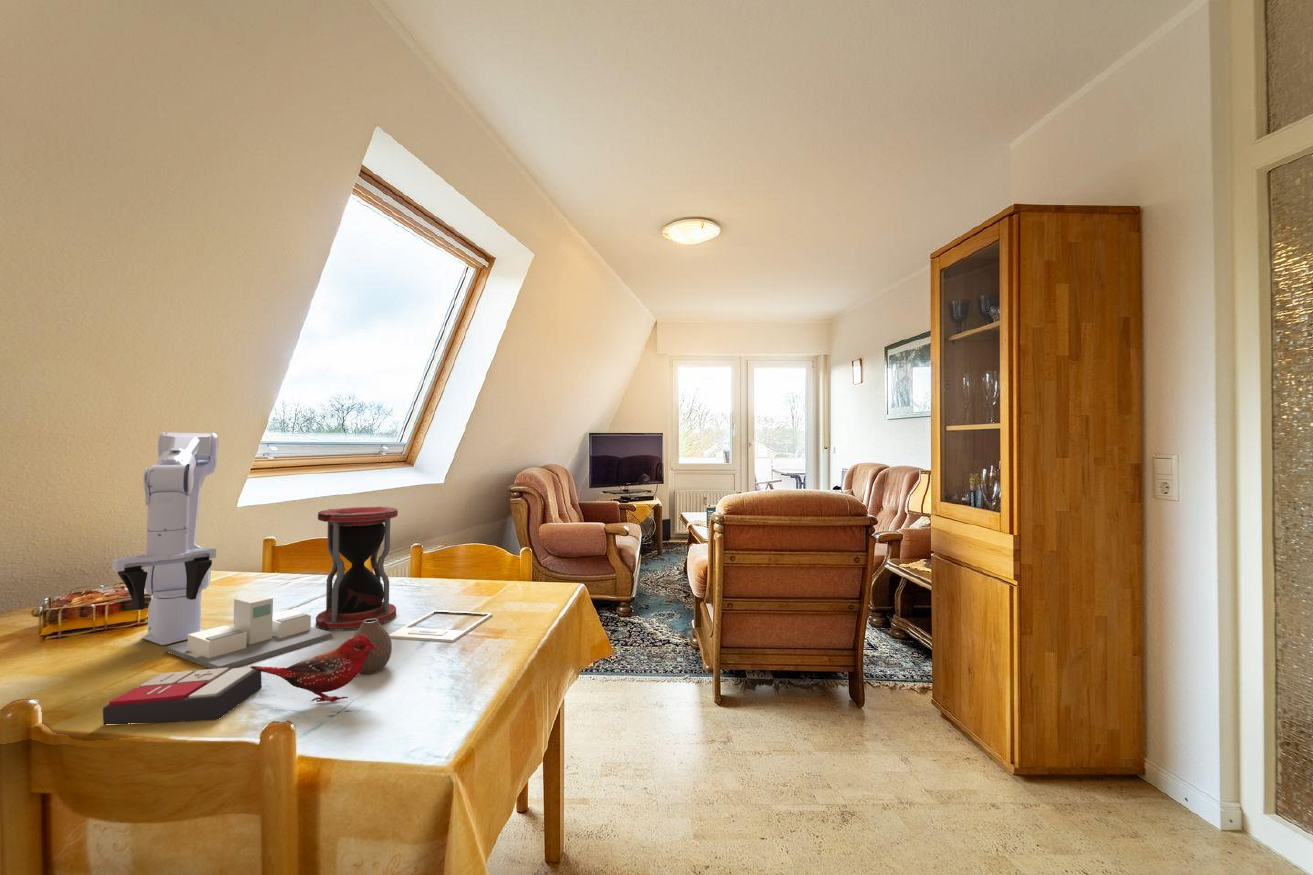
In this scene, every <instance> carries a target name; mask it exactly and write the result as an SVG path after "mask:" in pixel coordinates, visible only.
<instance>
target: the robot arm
mask: <svg viewBox="0 0 1313 875" xmlns="http://www.w3.org/2000/svg"><path fill="white" fill-rule="evenodd" d="M218 454H219V437H218V435H217V434H216V433H215V432H211V433H204V432H203V433H202V432H200V433H199V432H197V433H194V432H167V431H163V432H162V433H161V434H159V436H158V441H157V455H158V456H157V457H158V459H157V461H156V463H155V464H152V465H151V467H146V468H145V470H144V474H143V481H142V482H143V492H144V496H145V499H144V502H145V506H147V512H146V513H147V514H146V515H147V516H146V517H147V518H146V545H145V547H146V548H145V553H146V554H140V555H134V556H129V557H122V558H121V557H120V558H114V559H112V560H111V571H112V572H116V573H117V574H118V576H119V577H120V579H121V580H122V582H123V584H124V585H125V587H126V589H127V590H128V593H129V596H130V598H131V602H132V607H133V610H136V611H141V610H144V608H145V604H146V603H145V601H146V600H145V592H146V593H147V594H148V595H149V596H151V595H152V599H151V600H150V602H149V603H148V609H147V633H146V634H143V635H141V638H142V639H144V640H146V641H150V642H152V643H154V644H157V645H160V646H166V645H170V644H173V643H174V644H175V643H177V642H181V641H182V642H183V641H186V640H188V634H191V633H196V632H200V631H204V630H205V629H203V628H202V627H201V625H202V623H201V622H202V621H201V620H202V591H203V590H206V589H207V588H208V587H209V586H210V583H211V574H212V564H213V560H212V559H216V558H217V548H216V547H213V546H211V547H201V546H199V545H198V544H196V543H197V535H198V533H197V532H198V525H199V515H200V514H199V513H200V512H199V511H200V503H201V501H200V500H201V494H202V493H201V492H202V490H201V489H202V487H203V484H204V481H205V479H206V477H207V476H209V475H212V474H213V473H215V472H216V468H217V467H218V466H217V465H218V464H217V463H218V462H217V461H218V457H219V456H218ZM144 568H146V571H145V569H144Z"/></svg>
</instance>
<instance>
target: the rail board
mask: <svg viewBox="0 0 1313 875" xmlns="http://www.w3.org/2000/svg"><path fill="white" fill-rule="evenodd" d="M311 621H312V615H311V614H308V613H303V612H300V611H295V610H292V609H286V610H283V611H282V610H281V611H279V612H273V622H272V639H268V640H265V641H261V642H258V643H254V644H251V645H249V644H246V636H247V632H245V631H242V630H239V629H235V628H234V627H233V626H232V627H231V626H228V625H221V626H217V627H212V628H209V629H204V631H200V632H196V633H191V634H188V639H187V641H186V640H185V641H182V642H179V643H174V644H171V645H170V644H169V645H167V646H166V645H165V653H167V652H170V653H172V654H174V655H173V656H175V655H177V656H176V657H178V656H179V658H180V657H181V659H183V660H185V659H186V661H189V662H191V663H193V662H195V663H194V664H196V663H197V665H199V664H200V665H199V666H200V667H204V668H207V669H218V668H229V670H231V669H233V668H239V667H242V666H244V665H248V664H251V663H253V662H257V661H261V660H264V659H267V658H270V657H274V656H277V655H280V654H284V653H286V652H290V651H293V650H296V649H300V648H304V647H305V646H309V645H313V644H316V643H319V642H322V641H326V640H329V639H332V638H333V637H334V636H333V634H334V633H333V632H332V631H329V630H326V629H322V628H318V627H317V628H316V627H312V622H311ZM170 653H169V654H170ZM172 654H171V655H172Z"/></svg>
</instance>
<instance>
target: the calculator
mask: <svg viewBox="0 0 1313 875" xmlns="http://www.w3.org/2000/svg"><path fill="white" fill-rule="evenodd" d="M250 667H251V666H246V667H244V666H243V667H235V668H232V669H229V668H218V669H209V668H207V669H198V670H195V672H194V670H187V671H175V672H163V673H160V674H159V675H156V676H154V677H153V678H151V679H149V680H147V681H145V682H144V683H142V684H140V685H139V686H138V687H135V688H132V689H130V690H128V691H126V692H124V693H122V694H121V695H118V696H117V697H115V698H114V699H111V700H109V702H108V704H106V705H105V706H104V707H102V720H103V721H102V724H103V725H106V724H128V723H130V724H131V723H150V724H160V723H162V724H163V723H172V722H182V721H183V722H184V723H185V722H190V723H191V722H204V721H205V722H207V721H218V720H220V719H222V718H223V717H224V716H226V715H227V714H229V713H230V712H231V711H232V710H234V709H235V708H236V706H237V705H238V704H239V705H241V704H242V703H244V702H245V701H246V700H248V699H249V698H251V695H252V696H253V695H254V694H256V693H257V692H258V691H260V690H261V689H262V686H263V685H262V683H263V682H262V672H261V671H258V670H254V669H252V668H250ZM239 705H238V706H239ZM238 706H237V707H238ZM233 708H234V709H233ZM229 711H230V712H229ZM225 714H226V715H225ZM223 715H224V716H223ZM222 716H223V717H222ZM221 717H222V718H221ZM219 718H220V719H219ZM217 719H218V720H217Z"/></svg>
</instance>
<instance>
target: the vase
mask: <svg viewBox="0 0 1313 875" xmlns="http://www.w3.org/2000/svg"><path fill="white" fill-rule="evenodd" d="M389 634H390V633H389V632H388V631H387V629H385V627H383V626H382V623H381V624H380V623H379V621H378V619H367V620H364V621H363V622H362V625H361V627H360V628H359V629H357V630H356V632H355V633H354V635H353V636H352V637H355V636H357V635H365V636H367V637H368V638H369V639H370V642H371V643H372V644H373V645H375V646H376V647H377V648H376V649H372V650H370V652H369V655H368V658H367V659H366V661H365V663H364V665H363V667H362V669H361V671H360V672H359V674H358V675H363V676H367V675H372V674H376V673H378V672H380V671H382V670H383V669H384V668H385V667H386V665H387V664H388V662H389V661H390V658H391V655H392V638H390V636H389Z"/></svg>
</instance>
